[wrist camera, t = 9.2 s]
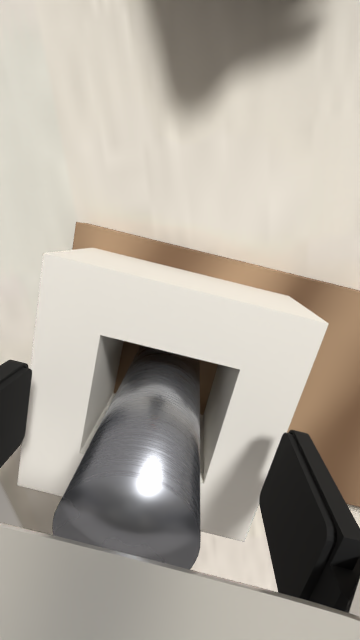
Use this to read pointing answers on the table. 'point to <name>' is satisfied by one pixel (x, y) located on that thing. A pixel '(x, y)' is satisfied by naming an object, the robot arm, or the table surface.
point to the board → (330, 363)
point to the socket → (176, 337)
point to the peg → (142, 466)
